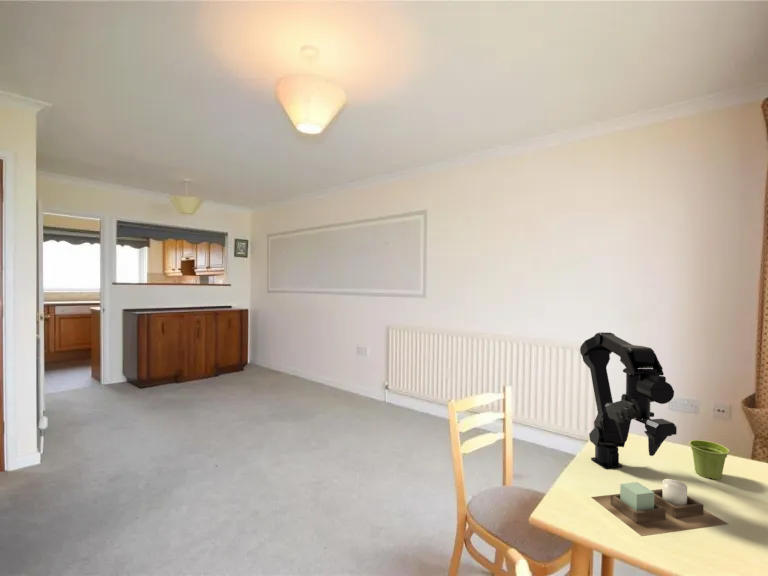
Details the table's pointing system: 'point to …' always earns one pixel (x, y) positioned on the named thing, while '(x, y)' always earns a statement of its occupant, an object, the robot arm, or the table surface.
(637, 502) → the sage block
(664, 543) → the table surface
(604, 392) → the robot arm
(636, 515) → the socket board
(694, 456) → the plant pot
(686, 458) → the table surface
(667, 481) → the cream cylinder
